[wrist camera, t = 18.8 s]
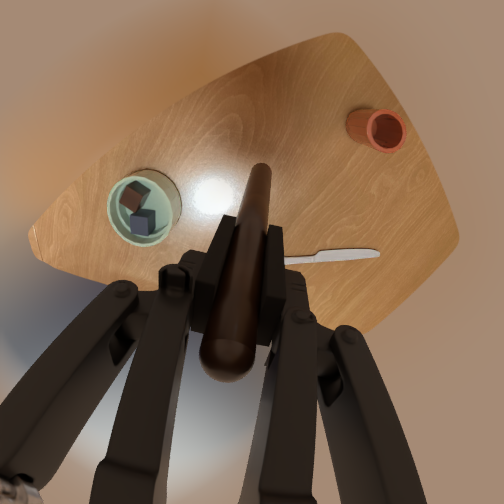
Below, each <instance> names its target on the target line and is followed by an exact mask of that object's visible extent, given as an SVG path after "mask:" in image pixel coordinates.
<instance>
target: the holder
mask: <svg viewBox="0 0 504 504" xmlns="http://www.w3.org/2000/svg"><path fill="white" fill-rule="evenodd" d="M346 129H347V132H348V134H349V136H350V137H351V138H352V139H353V140H354V141H356V142H358V143H360V144H363V145H366V146H368V147H371V148H373V149H376V150H378V151H381V152H384V153H393V152H395V151H397V150H399V149H400V148H401V147H402V145H403V144H404V142H405V139H406V135H407V134H406V127H405V124H404V122H403V120H402V118H401V117H400V116H399V115H398V114H397V113H396V112H393V111H391V110H388V109H359V110H355V111H353V112H352V113H351V114H350V115H349V116H348V118H347V121H346Z"/></svg>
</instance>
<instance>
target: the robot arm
mask: <svg viewBox="0 0 504 504" xmlns="http://www.w3.org/2000/svg"><path fill="white" fill-rule="evenodd" d="M236 218H237V217H233V216H228V215H223V217H222V220H221V222H220V224H219V226H218V229H217V231H216V233H215V235H214V238H213V240H212V242H211V244H210V247H209V249H208V251H207V253H204V252H200V251H195V250H189V251H187V252H186V253H184V254H183V256H182V258H181V259H180V261H179V263H178V264H169V265H166V266H164V267H162V268H161V269H160V270H159V289H158V290H155V291H138V287H137V286H136V284H134V283H133V282H131V281H127V280H118V281H115V282H112V283H111V284H109V285H108V286H107V287H106V288H105V289H104V290H103V291H102V292H101V293H100V294H99V295H98V296H97V297H96V298H95V299H94V300H93V301H92V302H91V303H90V304H89V305H88V306H87V307H86V308H85V309H84V310H83V311H82V312H81V313H80V314H79V315H78V316H77V317H76V318H75V319H74V320H73V321H72V322H71V323H70V324H69V325H68V326H67V327H66V328H65V329H64V330H63V331H62V333H61V334H60V335H59V336H58V337H57V338H56V339H55V340H54V341H53V342H52V343H51V345H50V346H49V347H48V348H47V349H46V350H45V351H44V352H43V354H42V355H41V356H40V357H39V358H38V359H37V360H36V362H35V363H34V364H33V365H32V366H31V367H30V369H29V370H28V371H27V372H26V373H25V375H24V376H23V377H22V378H21V380H20V381H19V382H18V383H17V384H16V386H15V387H14V388H13V389H12V391H11V392H10V393H9V394H8V396H7V397H6V398H5V400H4V401H3V402H2V404H1V405H0V504H44V503H43V500H42V498H41V496H40V494H39V492H38V491H40V490H41V489H42V488H43V487H44V486H45V485H46V484H47V483H48V482H49V481H50V480H51V479H52V477H53V476H54V474H55V473H56V472H57V470H58V468H59V466H60V465H61V463H62V461H63V460H64V458H65V457H66V455H67V453H68V451H69V450H70V448H71V447H72V445H73V443H74V442H75V440H76V438H77V437H78V435H79V434H80V432H81V430H82V429H83V427H84V426H85V424H86V422H87V421H88V419H89V418H90V416H91V415H92V413H93V412H94V410H95V409H96V407H97V405H98V404H99V402H100V400H101V399H102V398H103V396H104V395H105V393H106V392H107V390H108V389H109V387H110V386H111V384H112V383H113V381H114V380H115V378H116V377H117V375H118V374H119V372H120V371H121V369H122V368H123V366H124V365H125V364H126V362H127V361H128V359H129V358H130V356H131V355H132V353H133V352H134V350H135V349H136V348H137V349H136V352H135V355H134V358H133V361H132V364H131V367H130V370H129V373H128V376H127V379H126V383H125V386H124V389H123V393H122V396H121V400H120V403H119V407H118V410H117V414H116V417H115V421H114V425H113V429H112V433H111V437H110V441H109V446H108V449H107V453H106V456H105V458H104V459H103V460H102V461H101V462H99V464H98V466H97V468H96V471H95V475H94V480H93V485H92V490H91V496H90V502H89V504H166V498H167V477H168V467H169V459H170V451H171V443H172V436H173V429H174V422H175V415H176V408H177V401H178V395H179V389H180V383H181V376H182V371H183V365H184V360H185V354H186V349H187V343H188V337H189V329H190V326H191V331H194V332H199V333H203V334H204V331H205V327H206V323H207V320H208V316H209V313H210V311H211V310H212V306H213V302H214V299H215V295H216V291H217V288H218V284H219V281H220V277H221V273H222V270H223V266H224V263H225V259H226V256H227V252H228V249H229V245H230V242H231V238H232V235H233V231H234V228H235V223H236ZM271 340H272V347H271V350H270V352H269V355H268V357H267V360H266V362H265V366H266V372H265V377H264V383H263V388H262V394H261V399H260V405H259V410H258V416H257V421H256V425H255V430H254V435H253V440H252V445H251V450H250V455H249V460H248V464H247V469H246V473H245V478H244V483H243V487H242V491H241V496H240V499H239V502H238V504H317V501H316V500H315V498H314V497H313V496H312V478H313V468H314V454H315V437H316V416H317V400H318V403H319V408H320V412H321V416H322V420H323V424H324V428H325V433H326V437H327V441H328V446H329V450H330V454H331V459H332V463H333V467H334V472H335V477H336V481H337V486H338V491H339V495H340V500H341V504H427V502H426V498H425V495H424V492H423V488H422V485H421V482H420V478H419V475H418V473H417V470H416V466H415V463H414V460H413V457H412V454H411V451H410V449H409V446H408V443H407V440H406V438H405V435H404V432H403V429H402V427H401V424H400V421H399V419H398V416H397V414H396V411H395V409H394V406H393V403H392V401H391V399H390V396H389V394H388V391H387V389H386V387H385V384H384V382H383V379H382V377H381V375H380V373H379V370H378V368H377V366H376V363H375V361H374V359H373V356H372V354H371V352H370V350H369V348H368V346H367V343H366V341H365V339H364V337H363V335H362V334H361V332H360V331H358V330H357V329H356V328H354V327H352V326H348V325H340V326H338V327H337V328H336V329H335V331H334V330H331V329H329V328H326V327H324V326H322V325H320V324H319V323H317V320H316V316H315V315H314V314H313V313H312V312H311V311H310V308H309V301H308V295H307V288H306V282H305V278H304V277H303V275H302V274H301V273H300V272H297V271H293V270H288V269H285V261H284V245H283V231H282V227H279V226H275V225H270V224H269V228H268V232H267V236H266V247H265V258H264V269H263V280H262V290H261V301H260V311H259V321H258V333H257V343H256V344H257V345H263V346H268V347H269V345H270V342H271Z"/></svg>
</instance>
